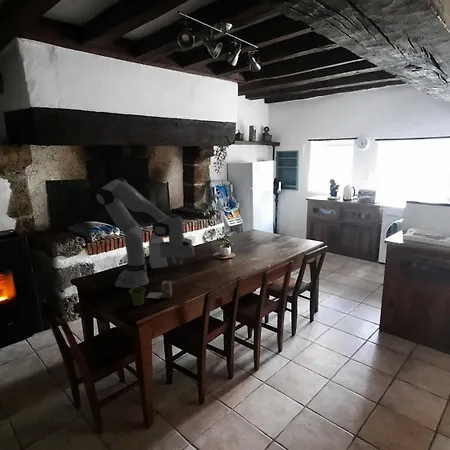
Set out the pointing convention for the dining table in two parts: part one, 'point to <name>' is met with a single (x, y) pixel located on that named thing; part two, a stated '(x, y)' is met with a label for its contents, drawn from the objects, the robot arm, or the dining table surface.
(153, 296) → the grey mat
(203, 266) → the dining table surface
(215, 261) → the dining table surface
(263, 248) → the dining table surface
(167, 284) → the beech block
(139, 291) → the plant pot
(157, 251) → the milk
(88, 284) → the dining table surface
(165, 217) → the robot arm
